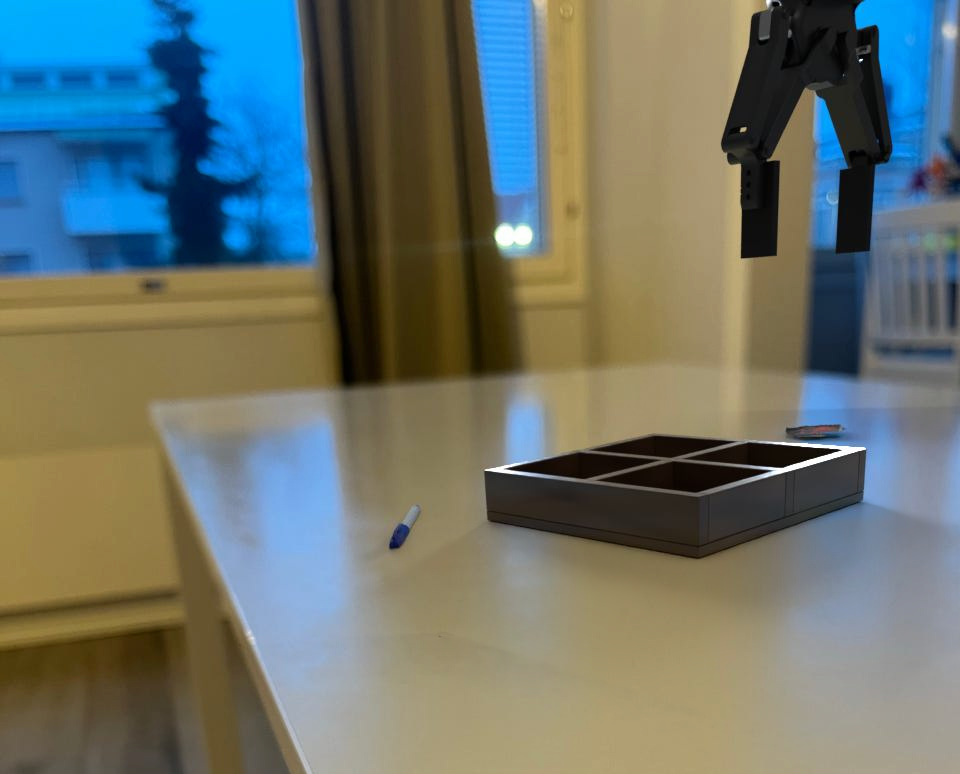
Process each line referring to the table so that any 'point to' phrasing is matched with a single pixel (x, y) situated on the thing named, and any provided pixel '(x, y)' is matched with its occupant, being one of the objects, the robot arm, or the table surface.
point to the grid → (676, 490)
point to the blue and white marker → (404, 528)
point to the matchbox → (814, 430)
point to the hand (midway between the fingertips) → (807, 255)
